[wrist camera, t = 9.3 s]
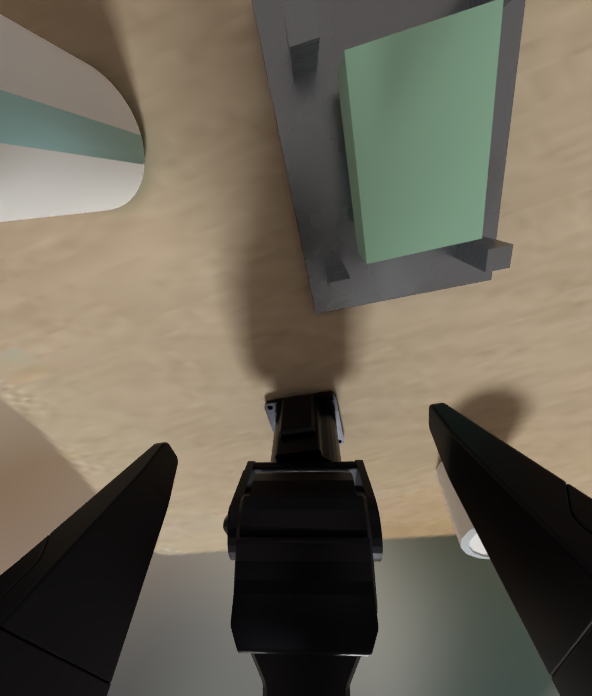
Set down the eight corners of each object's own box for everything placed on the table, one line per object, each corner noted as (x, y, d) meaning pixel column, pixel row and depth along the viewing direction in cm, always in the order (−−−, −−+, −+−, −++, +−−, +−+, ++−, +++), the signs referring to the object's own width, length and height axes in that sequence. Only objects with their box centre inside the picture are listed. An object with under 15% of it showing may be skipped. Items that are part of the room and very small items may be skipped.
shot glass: (501, 479, 30) (551, 552, 24) (437, 494, 32) (468, 566, 26) (493, 438, 27) (547, 510, 21) (423, 457, 29) (454, 529, 23)
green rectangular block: (454, 230, 16) (481, 238, 13) (358, 252, 17) (366, 263, 14) (463, 36, 12) (503, -3, 10) (337, 76, 13) (344, 50, 10)
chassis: (484, 276, 19) (528, 298, 16) (315, 309, 21) (317, 336, 17) (525, -93, 12) (630, -228, 8) (253, 4, 13) (233, -69, 10)
